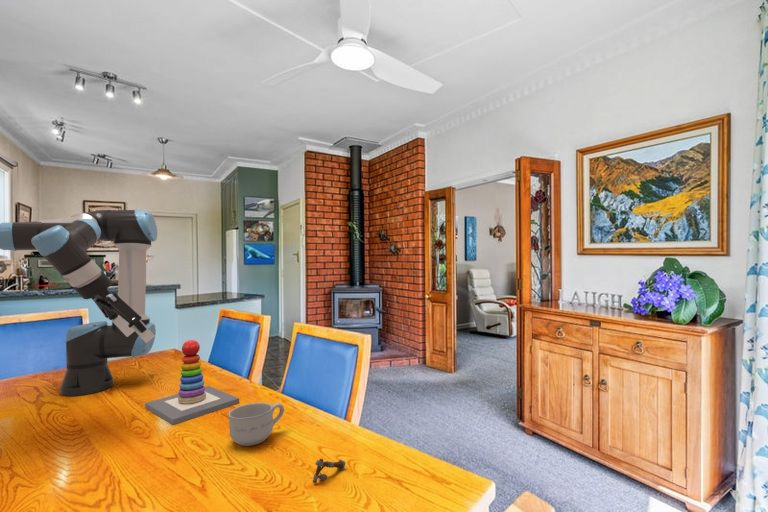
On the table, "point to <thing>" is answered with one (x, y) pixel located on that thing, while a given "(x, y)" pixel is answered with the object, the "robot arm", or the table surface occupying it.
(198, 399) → the stacking toy
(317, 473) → the dark triangular frame
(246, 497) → the table surface
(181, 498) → the table surface
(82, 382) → the robot arm
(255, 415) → the teacup
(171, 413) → the plate
